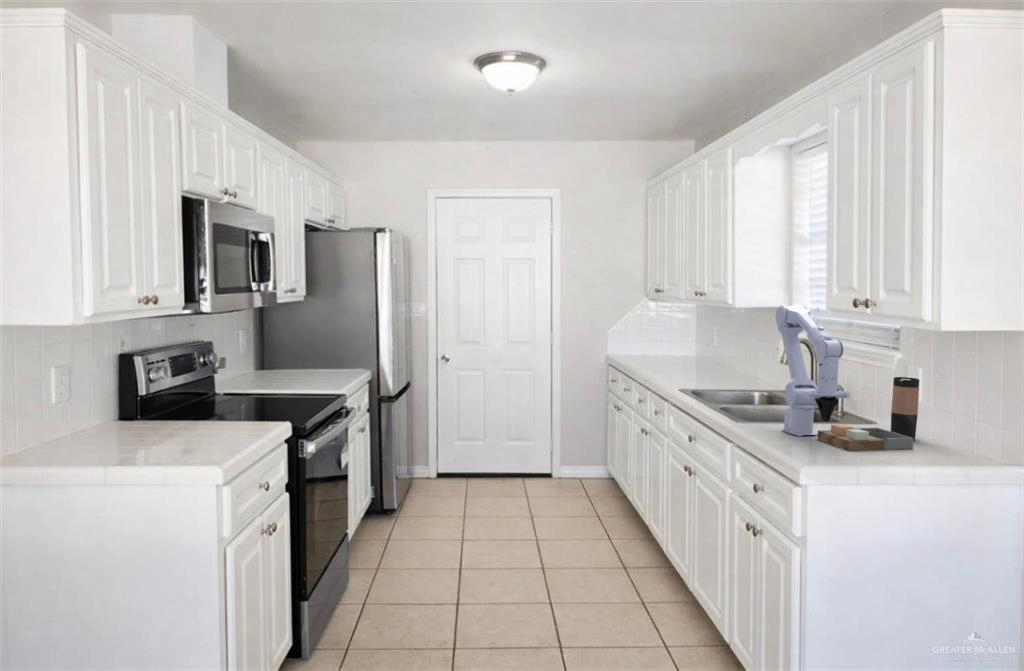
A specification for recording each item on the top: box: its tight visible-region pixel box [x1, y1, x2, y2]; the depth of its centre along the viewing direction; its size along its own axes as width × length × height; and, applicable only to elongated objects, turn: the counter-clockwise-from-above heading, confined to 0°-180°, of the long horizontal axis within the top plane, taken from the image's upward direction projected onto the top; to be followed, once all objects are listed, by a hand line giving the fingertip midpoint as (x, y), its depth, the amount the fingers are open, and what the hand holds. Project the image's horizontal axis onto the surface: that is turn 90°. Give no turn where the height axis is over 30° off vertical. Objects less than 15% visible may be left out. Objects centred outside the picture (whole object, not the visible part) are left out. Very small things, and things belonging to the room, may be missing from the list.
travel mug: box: [890, 376, 920, 442], centre depth 241 cm, size 8×8×20 cm
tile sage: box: [846, 429, 869, 440], centre depth 226 cm, size 4×4×2 cm
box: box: [853, 427, 914, 451], centre depth 233 cm, size 16×10×4 cm, turn 12°
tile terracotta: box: [830, 423, 854, 435], centre depth 233 cm, size 4×4×2 cm
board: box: [817, 429, 885, 452], centre depth 230 cm, size 16×12×3 cm
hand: (825, 420), depth 232 cm, fingers closed
